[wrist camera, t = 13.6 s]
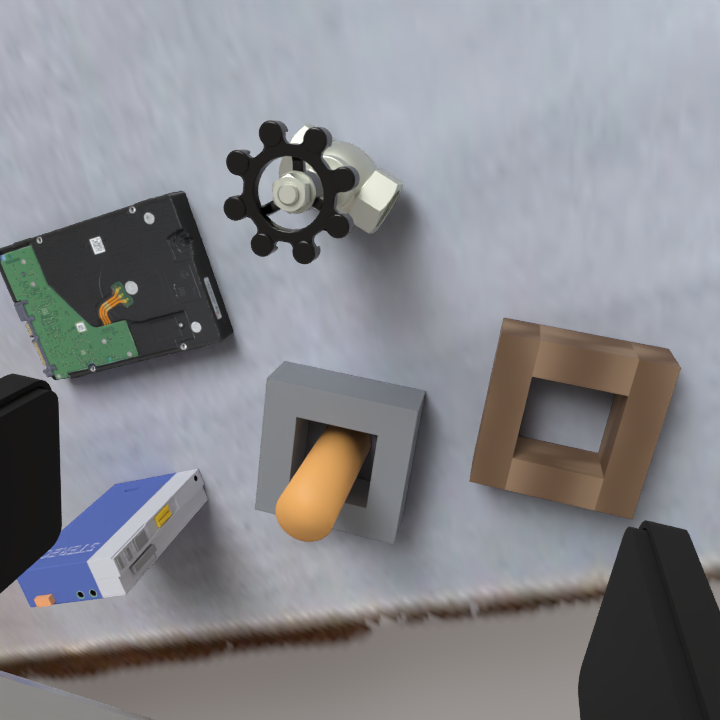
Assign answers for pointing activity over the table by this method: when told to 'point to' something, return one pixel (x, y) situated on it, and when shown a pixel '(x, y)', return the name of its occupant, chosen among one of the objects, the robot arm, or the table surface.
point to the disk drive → (116, 288)
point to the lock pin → (322, 483)
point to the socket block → (348, 410)
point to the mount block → (562, 463)
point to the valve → (310, 189)
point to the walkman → (114, 540)
